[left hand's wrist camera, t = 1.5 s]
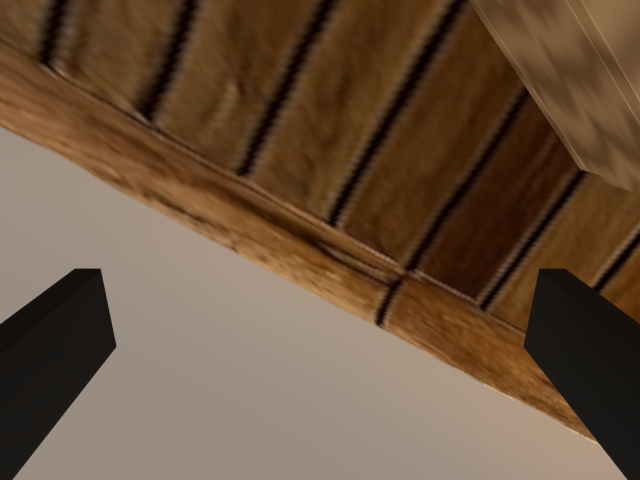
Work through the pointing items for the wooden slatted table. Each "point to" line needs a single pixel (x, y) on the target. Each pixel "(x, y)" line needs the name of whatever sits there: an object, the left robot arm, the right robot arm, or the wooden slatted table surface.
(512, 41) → the cabinet
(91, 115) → the wooden slatted table surface
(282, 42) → the wooden slatted table surface
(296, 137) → the wooden slatted table surface
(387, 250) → the wooden slatted table surface
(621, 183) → the drawer
